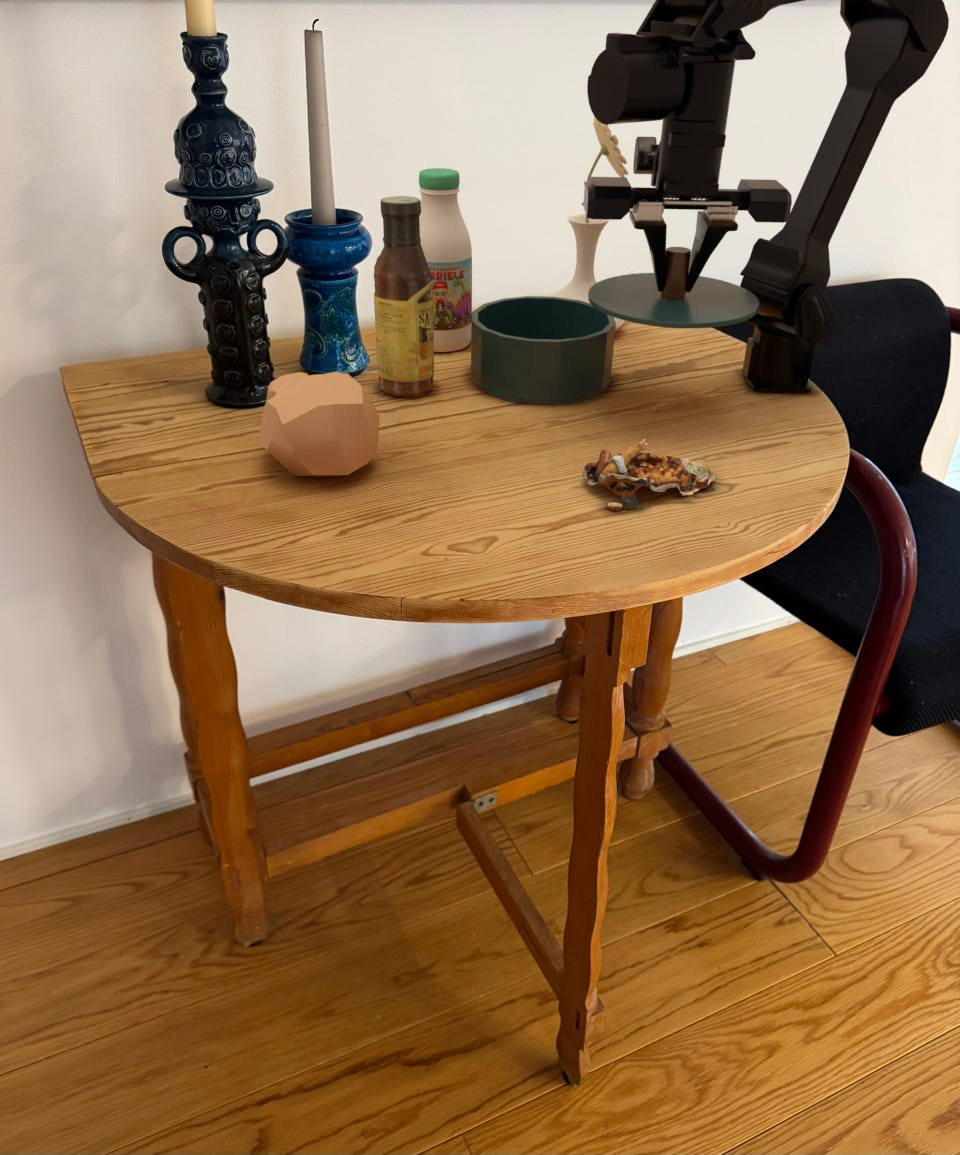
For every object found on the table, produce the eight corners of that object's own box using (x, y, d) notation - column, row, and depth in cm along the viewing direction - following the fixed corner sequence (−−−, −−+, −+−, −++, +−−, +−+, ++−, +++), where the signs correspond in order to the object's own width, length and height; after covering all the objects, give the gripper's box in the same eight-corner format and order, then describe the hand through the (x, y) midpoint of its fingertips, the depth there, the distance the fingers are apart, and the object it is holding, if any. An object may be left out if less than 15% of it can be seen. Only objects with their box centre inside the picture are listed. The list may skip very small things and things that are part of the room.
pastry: (726, 489, 86) (732, 453, 84) (612, 514, 82) (615, 476, 80) (682, 457, 92) (687, 423, 90) (572, 479, 87) (575, 443, 85)
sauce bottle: (432, 400, 103) (429, 207, 92) (375, 398, 103) (365, 206, 92) (436, 377, 108) (434, 193, 97) (381, 376, 108) (373, 192, 97)
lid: (738, 284, 102) (747, 230, 99) (775, 336, 88) (786, 275, 85) (582, 281, 102) (586, 227, 99) (593, 333, 88) (598, 272, 85)
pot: (602, 355, 115) (607, 297, 111) (616, 406, 102) (622, 342, 98) (472, 352, 115) (473, 294, 112) (469, 403, 102) (469, 339, 98)
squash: (289, 508, 83) (257, 411, 78) (247, 444, 99) (218, 362, 95) (404, 467, 85) (379, 372, 81) (343, 412, 102) (320, 330, 97)
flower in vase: (619, 348, 117) (640, 126, 104) (528, 339, 119) (538, 121, 106) (630, 316, 128) (650, 111, 114) (546, 309, 130) (557, 107, 116)
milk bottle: (402, 335, 120) (397, 166, 109) (461, 330, 122) (462, 163, 111) (418, 356, 114) (414, 178, 103) (479, 350, 116) (481, 175, 105)
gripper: (777, 107, 92) (751, 270, 101) (585, 104, 92) (575, 267, 101) (807, 124, 83) (775, 302, 91) (594, 120, 83) (581, 298, 92)
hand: (673, 290), depth 94 cm, fingers closed on lid, 2 cm apart
